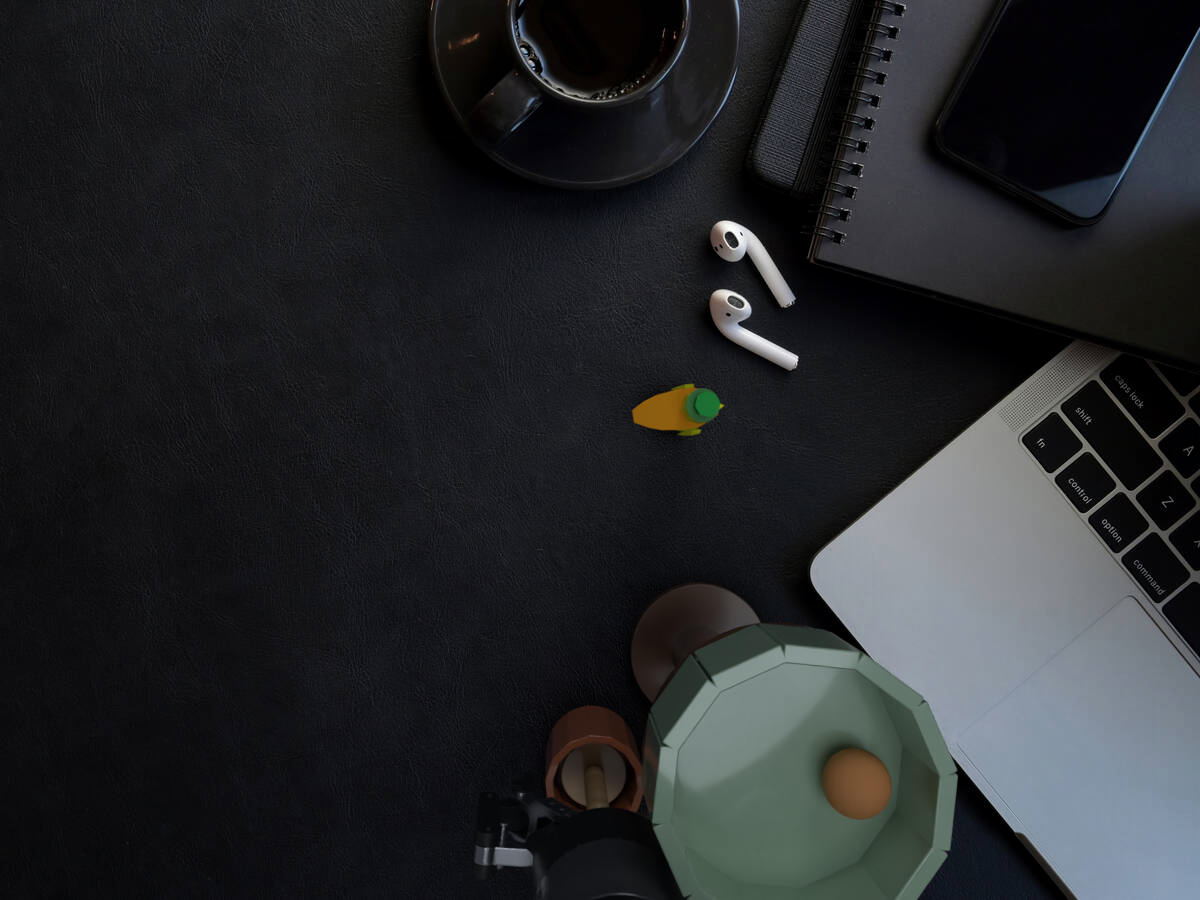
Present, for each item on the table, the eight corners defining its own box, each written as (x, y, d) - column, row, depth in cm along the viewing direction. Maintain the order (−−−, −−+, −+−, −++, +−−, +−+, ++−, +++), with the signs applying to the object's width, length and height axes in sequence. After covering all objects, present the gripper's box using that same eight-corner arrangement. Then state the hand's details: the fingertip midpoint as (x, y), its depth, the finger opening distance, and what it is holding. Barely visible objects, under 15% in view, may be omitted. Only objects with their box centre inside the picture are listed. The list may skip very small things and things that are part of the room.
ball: (874, 807, 43) (898, 833, 40) (810, 801, 43) (829, 827, 40) (881, 742, 43) (905, 764, 40) (817, 736, 43) (837, 757, 40)
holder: (630, 797, 68) (639, 838, 61) (541, 788, 68) (539, 829, 61) (639, 709, 68) (650, 741, 61) (551, 701, 68) (550, 731, 61)
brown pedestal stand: (772, 743, 69) (895, 906, 44) (603, 727, 68) (629, 882, 43) (790, 573, 69) (923, 639, 44) (621, 555, 68) (659, 612, 43)
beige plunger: (619, 785, 68) (632, 856, 56) (556, 780, 68) (556, 849, 56) (626, 722, 68) (640, 779, 56) (563, 716, 68) (564, 772, 56)
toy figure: (627, 444, 68) (642, 442, 56) (620, 396, 68) (633, 383, 56) (717, 431, 69) (751, 426, 57) (710, 383, 69) (743, 368, 57)
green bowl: (895, 906, 44) (938, 964, 39) (629, 882, 43) (639, 938, 38) (923, 639, 44) (970, 663, 39) (659, 612, 43) (672, 632, 38)
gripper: (446, 992, 42) (476, 843, 59) (755, 1018, 43) (700, 863, 59) (465, 827, 42) (489, 724, 59) (773, 855, 43) (713, 745, 59)
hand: (595, 794), depth 59 cm, fingers open, 8 cm apart
